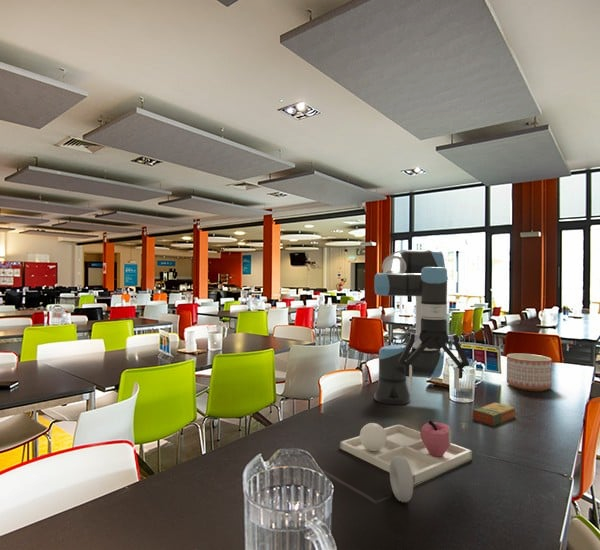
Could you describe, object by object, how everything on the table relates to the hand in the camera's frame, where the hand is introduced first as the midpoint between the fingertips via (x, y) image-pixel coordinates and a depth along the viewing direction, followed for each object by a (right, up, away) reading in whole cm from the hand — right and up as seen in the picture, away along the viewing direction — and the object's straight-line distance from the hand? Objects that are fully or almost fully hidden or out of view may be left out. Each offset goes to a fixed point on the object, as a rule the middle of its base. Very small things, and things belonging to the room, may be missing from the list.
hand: (433, 388), depth 127 cm
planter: (+72, -21, +78) cm, 108 cm away
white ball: (-18, -18, -1) cm, 26 cm away
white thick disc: (-16, -19, -28) cm, 38 cm away
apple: (0, -19, -4) cm, 19 cm away
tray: (-9, -19, -3) cm, 21 cm away
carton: (+33, -20, +31) cm, 50 cm away
